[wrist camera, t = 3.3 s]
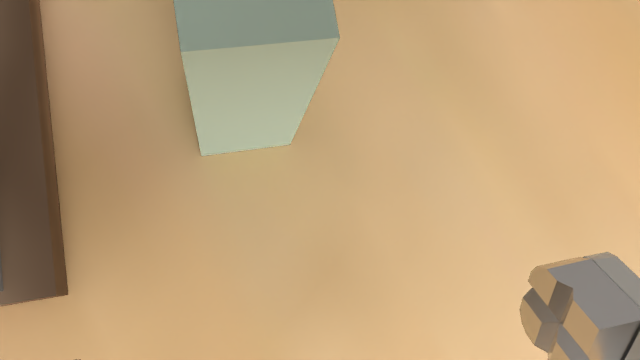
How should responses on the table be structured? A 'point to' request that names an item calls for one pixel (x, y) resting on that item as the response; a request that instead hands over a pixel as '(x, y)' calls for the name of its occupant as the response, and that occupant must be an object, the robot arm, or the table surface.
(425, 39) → the table surface
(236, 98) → the block
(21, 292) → the rail base
